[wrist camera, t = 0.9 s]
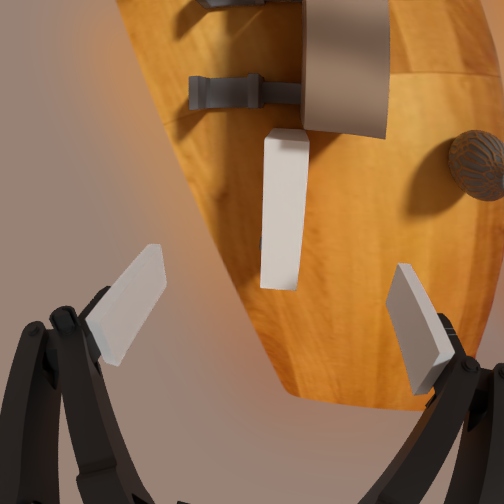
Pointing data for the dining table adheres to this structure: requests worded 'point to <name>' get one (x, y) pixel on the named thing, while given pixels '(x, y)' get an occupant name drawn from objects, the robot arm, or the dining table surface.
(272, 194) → the door
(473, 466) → the robot arm
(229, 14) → the dining table surface
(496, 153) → the vase
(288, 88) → the cabinet
